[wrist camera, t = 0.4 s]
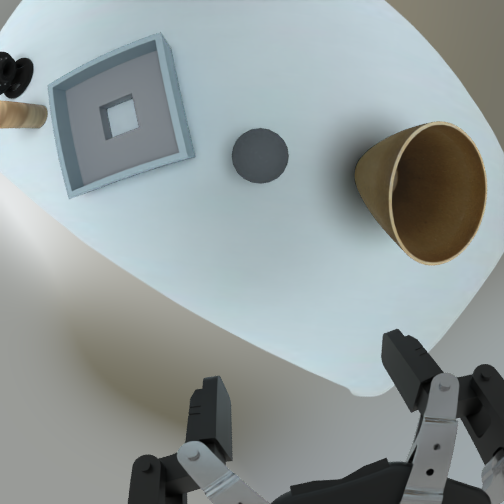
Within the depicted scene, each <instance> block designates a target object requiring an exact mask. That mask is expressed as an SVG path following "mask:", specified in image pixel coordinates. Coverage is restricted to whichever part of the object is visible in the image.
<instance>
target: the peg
mask: <svg viewBox="0 0 504 504" xmlns="http://www.w3.org/2000/svg"><path fill="white" fill-rule="evenodd" d="M46 119H47V109H46V107H45V106H43V105H36V104H28V103H20V102H10V101H0V128H40V127H42V126H43V125H44V123H45V121H46Z"/></svg>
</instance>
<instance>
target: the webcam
mask: <svg viewBox="0 0 504 504" xmlns="http://www.w3.org/2000/svg"><path fill="white" fill-rule="evenodd" d="M22 65H23V67H22V68H18V67H20V66H22ZM17 68H18V69H17ZM32 73H33V64H32V62H31V61H30V60H29V59H28V58H21V59H19V60H17V61H16V62H15V60H14V59H13V58H12V57H11V56H10V55H9V54H8V53H6V52H0V95H1V94H3V93H4V94H5V96H6V97H8V98H16V97H18V96H19V95H20V94H22V93H23V91H24V90H25V89H26V87H27V86H28V84H29V82H30V80H31V77H32ZM17 83H20V86H19V87H18V88H17V89H16V90H14V91H12V90H11V89H10V86H11V85H14V84H17Z"/></svg>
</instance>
